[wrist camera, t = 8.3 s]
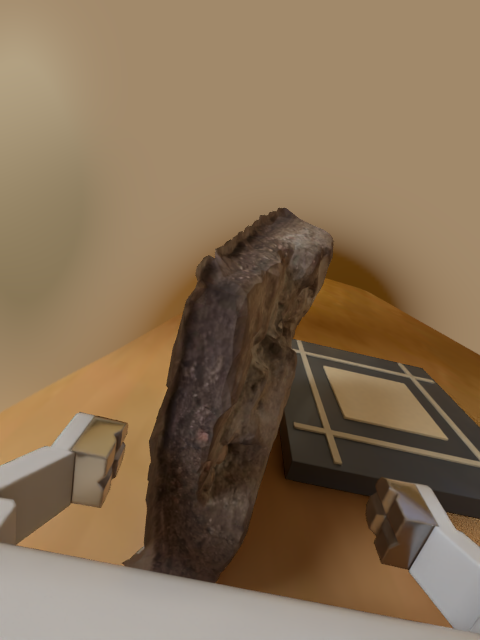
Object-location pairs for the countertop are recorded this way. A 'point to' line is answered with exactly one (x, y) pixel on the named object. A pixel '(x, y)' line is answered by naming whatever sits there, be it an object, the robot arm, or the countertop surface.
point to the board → (377, 428)
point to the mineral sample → (227, 393)
